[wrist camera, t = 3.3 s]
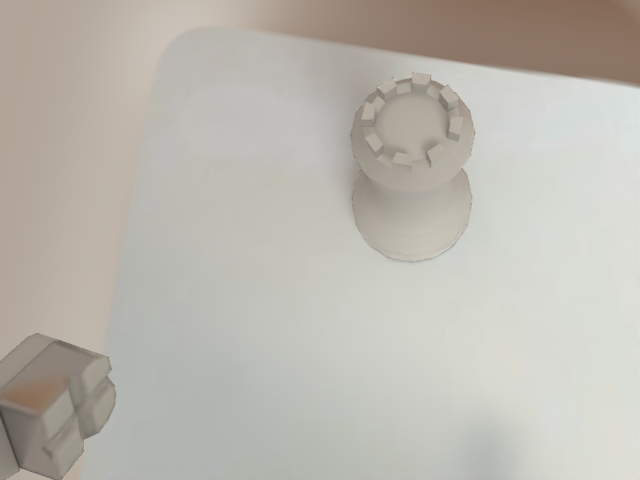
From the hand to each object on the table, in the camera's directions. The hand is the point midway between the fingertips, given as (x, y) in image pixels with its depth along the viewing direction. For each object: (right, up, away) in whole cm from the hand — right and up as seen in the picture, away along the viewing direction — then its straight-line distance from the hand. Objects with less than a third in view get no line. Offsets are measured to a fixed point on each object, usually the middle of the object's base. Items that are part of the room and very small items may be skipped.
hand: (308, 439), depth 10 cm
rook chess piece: (+4, +5, +12) cm, 13 cm away
